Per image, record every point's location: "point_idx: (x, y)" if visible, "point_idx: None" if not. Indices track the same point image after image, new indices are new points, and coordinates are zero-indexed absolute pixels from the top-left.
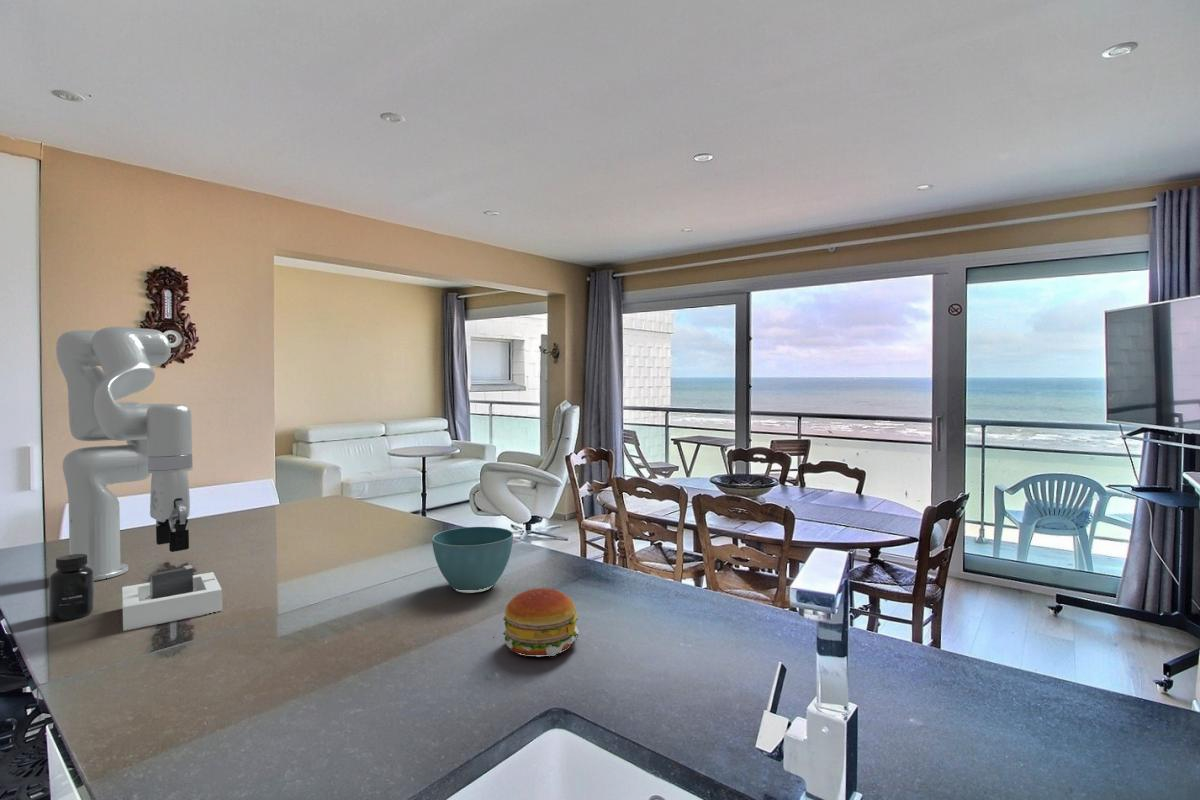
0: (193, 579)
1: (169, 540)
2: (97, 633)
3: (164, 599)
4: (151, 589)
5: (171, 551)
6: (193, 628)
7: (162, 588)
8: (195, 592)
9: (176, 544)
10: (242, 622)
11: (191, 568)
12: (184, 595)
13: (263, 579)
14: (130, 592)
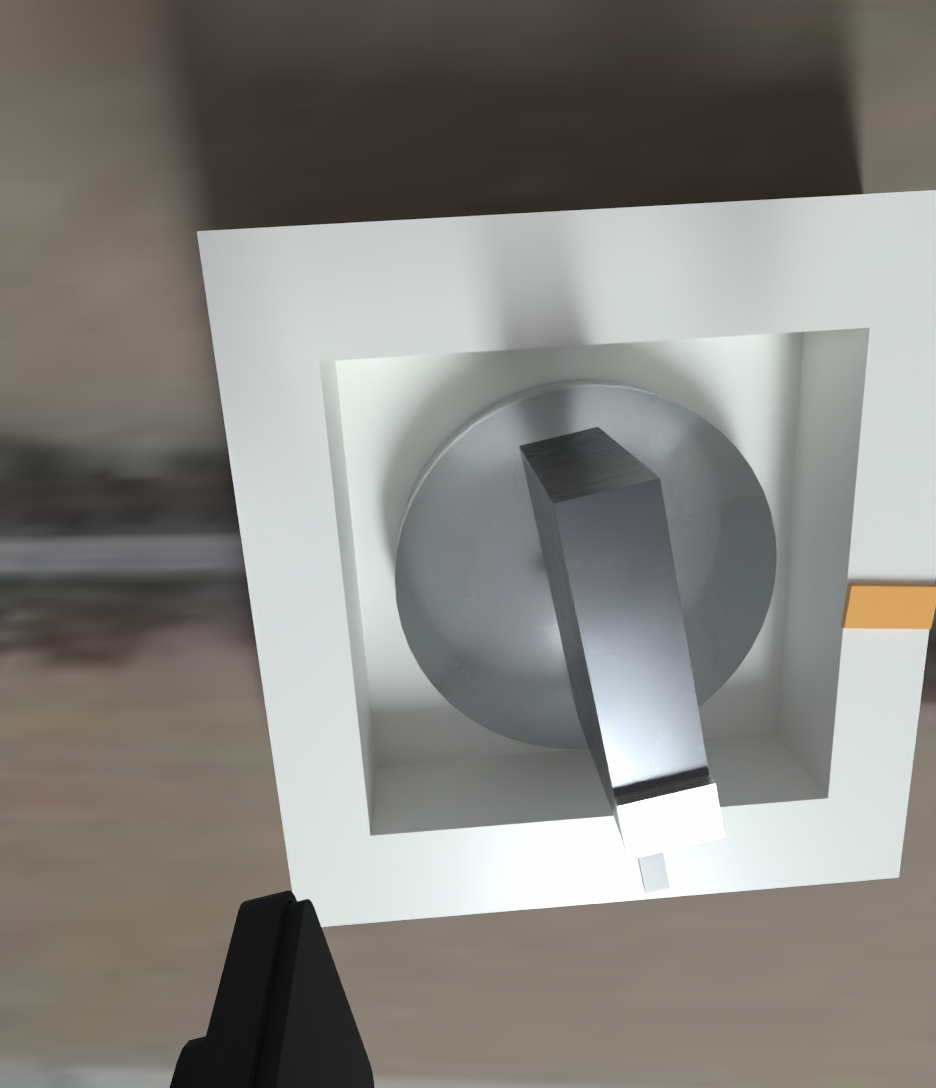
0: (825, 740)
1: (232, 1060)
2: (300, 59)
3: (260, 556)
4: (566, 457)
5: (252, 908)
6: (46, 663)
7: (547, 543)
8: (332, 766)
9: (174, 1079)
10: (15, 905)
11: (623, 838)
12: (288, 694)
13: (879, 1034)
14: (706, 273)
